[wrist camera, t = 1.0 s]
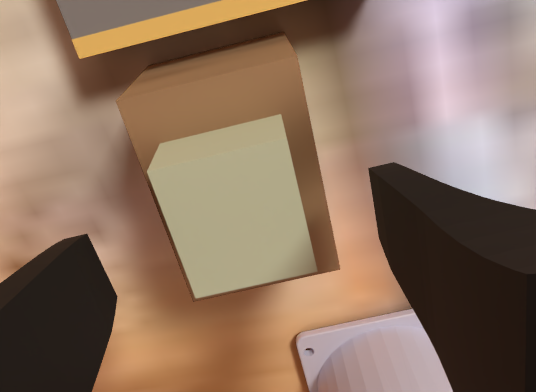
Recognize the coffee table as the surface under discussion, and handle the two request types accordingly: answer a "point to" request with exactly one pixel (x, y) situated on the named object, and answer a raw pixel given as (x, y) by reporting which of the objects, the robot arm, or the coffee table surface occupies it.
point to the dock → (147, 19)
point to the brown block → (232, 120)
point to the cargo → (233, 206)
